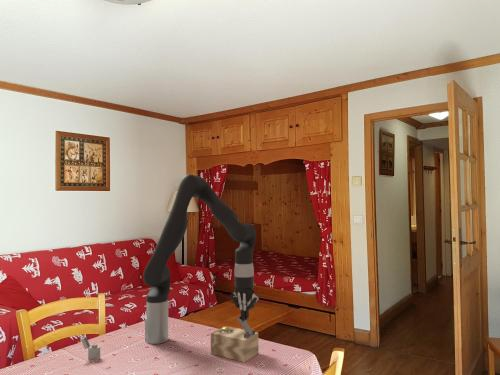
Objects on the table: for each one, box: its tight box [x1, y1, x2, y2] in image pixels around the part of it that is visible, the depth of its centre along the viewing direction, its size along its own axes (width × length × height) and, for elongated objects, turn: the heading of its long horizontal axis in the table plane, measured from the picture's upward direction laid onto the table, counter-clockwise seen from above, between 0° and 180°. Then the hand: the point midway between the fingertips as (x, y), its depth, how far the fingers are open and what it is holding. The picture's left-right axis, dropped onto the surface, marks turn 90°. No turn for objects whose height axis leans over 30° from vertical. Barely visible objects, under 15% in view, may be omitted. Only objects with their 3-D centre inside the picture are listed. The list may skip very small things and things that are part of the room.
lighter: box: [80, 336, 101, 360], centre depth 147 cm, size 7×2×8 cm, turn 85°
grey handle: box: [236, 316, 253, 336], centre depth 147 cm, size 8×4×1 cm
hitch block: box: [210, 326, 260, 363], centre depth 150 cm, size 16×10×10 cm, turn 57°
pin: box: [221, 325, 231, 334], centre depth 152 cm, size 3×3×10 cm
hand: (244, 319), depth 147 cm, fingers closed
